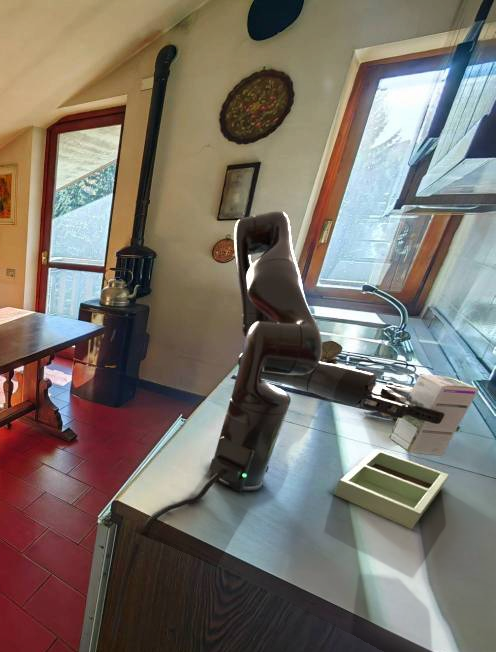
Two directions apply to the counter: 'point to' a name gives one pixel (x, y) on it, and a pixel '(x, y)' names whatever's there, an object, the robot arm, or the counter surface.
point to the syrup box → (439, 397)
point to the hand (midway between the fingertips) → (447, 413)
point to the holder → (391, 487)
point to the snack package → (381, 415)
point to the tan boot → (330, 352)
